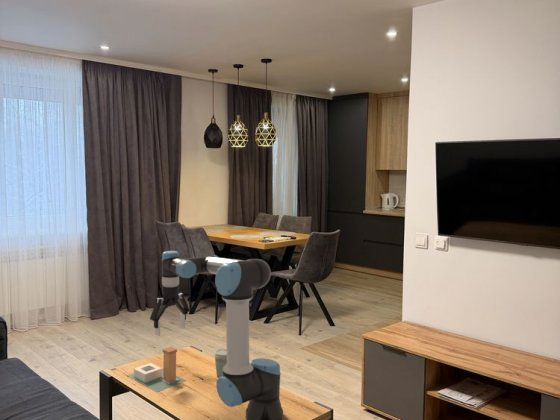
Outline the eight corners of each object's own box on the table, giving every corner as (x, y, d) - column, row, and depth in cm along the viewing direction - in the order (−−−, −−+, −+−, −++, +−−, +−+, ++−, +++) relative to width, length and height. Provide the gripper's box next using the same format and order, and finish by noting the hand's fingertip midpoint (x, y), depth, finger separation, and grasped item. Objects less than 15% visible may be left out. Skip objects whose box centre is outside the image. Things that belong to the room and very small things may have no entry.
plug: (176, 379, 224) (177, 349, 223) (168, 382, 221) (168, 352, 220) (170, 376, 227) (170, 346, 226) (162, 379, 224) (162, 349, 223)
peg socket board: (186, 383, 224) (186, 372, 224) (157, 395, 212) (157, 383, 212) (155, 368, 240) (155, 357, 239) (126, 378, 228) (126, 367, 227)
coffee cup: (228, 381, 228) (229, 356, 227) (211, 379, 230) (211, 354, 229) (234, 373, 236) (234, 349, 235) (217, 371, 238) (217, 347, 237)
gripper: (187, 279, 232) (187, 323, 234) (141, 288, 213) (141, 335, 215) (197, 282, 227) (197, 326, 229) (151, 291, 208) (151, 340, 210)
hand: (170, 331), depth 222 cm, fingers open, 13 cm apart
